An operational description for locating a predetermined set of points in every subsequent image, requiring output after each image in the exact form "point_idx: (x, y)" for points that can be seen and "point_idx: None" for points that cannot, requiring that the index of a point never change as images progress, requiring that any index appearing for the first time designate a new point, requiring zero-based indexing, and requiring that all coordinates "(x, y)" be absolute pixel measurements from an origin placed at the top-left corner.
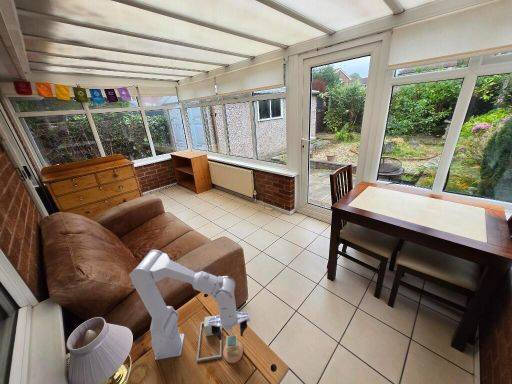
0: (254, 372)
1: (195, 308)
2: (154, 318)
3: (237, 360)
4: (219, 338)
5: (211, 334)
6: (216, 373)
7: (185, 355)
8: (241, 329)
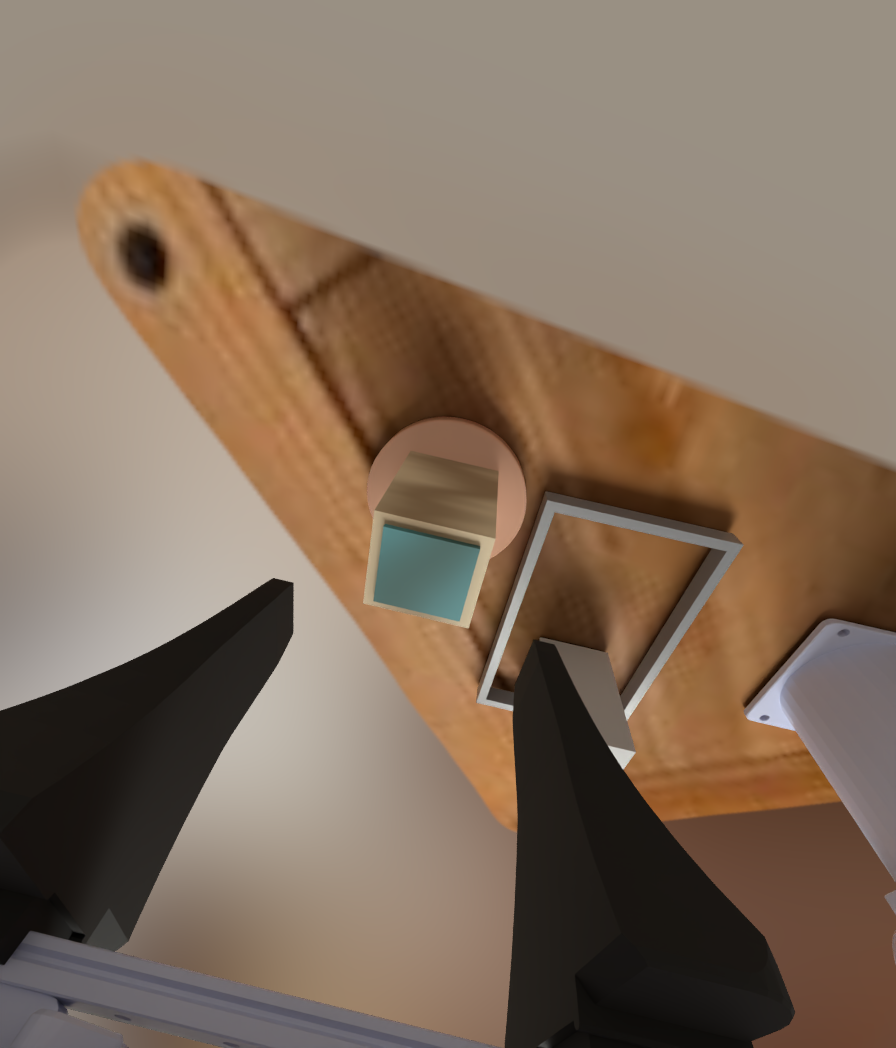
0: (310, 283)
1: None
2: None
3: (428, 421)
4: (561, 676)
5: (569, 649)
6: (617, 401)
7: (789, 602)
8: (64, 752)
